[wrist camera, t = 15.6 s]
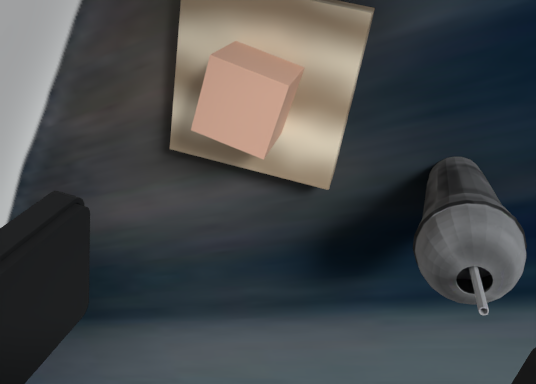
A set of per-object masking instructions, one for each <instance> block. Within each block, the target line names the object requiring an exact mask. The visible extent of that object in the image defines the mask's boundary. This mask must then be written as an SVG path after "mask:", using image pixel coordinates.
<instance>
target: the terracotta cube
mask: <svg viewBox="0 0 536 384" xmlns="http://www.w3.org/2000/svg"><path fill="white" fill-rule="evenodd" d="M304 69H305V68H304V67H302V66H299V65H297V64H294V63H292V62H289V61H286V60H284V59H281V58H279V57H276V56H274V55H271V54H268V53H266V52H263V51H261V50H258V49H256V48H253V47H251V46H248V45H245V44H243V43H240V42H238V41H234V42H233V43H231V44H229V45H227V46H225V47H223V48H222V49H220V50H218V51H216V52H214V53H212V54H211V55H210V57H209V61H208V65H207V69H206V73H205V77H204V81H203V85H202V89H201V92H200V96H199V100H198V104H197V108H196V112H195V116H194V120H193V124H192V128H191V130H192V131H194V132H197V133H199V134H202V135H204V136H207V137H209V138H212V139H214V140H216V141H219V142H221V143H224V144H226V145H229V146H231V147H234V148H236V149H239V150H241V151H244V152H246V153H248V154H251V155H253V156H256V157H258V158H261V159H263V160H264V159H265V157H266V156H267V154H268V153H269V151H270V150H271V148H272V147H273V145H274V144H275V142H276V141H277V139H278V138H279V137H280V135H281V133H282V131H283V128H284V125H285V122H286V119H287V117H288V114H289V111H290V108H291V105H292V102H293V100H294V97H295V94H296V91H297V88H298V86H299V83H300V80H301V77H302V74H303V72H304Z"/></svg>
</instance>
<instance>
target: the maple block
mask: <svg viewBox="0 0 536 384" xmlns="http://www.w3.org/2000/svg"><path fill="white" fill-rule="evenodd" d="M374 10H375V8H372V7H367V6H362V5H357V4H352V3H347V2H342V1H338V0H181V6H180V19H179V32H178V45H177V59H176V72H175V85H174V98H173V112H172V125H171V138H170V149H172V150H176V151H180V152H183V153H187V154H191V155H195V156H199V157H203V158H207V159H211V160H214V161H218V162H222V163H226V164H230V165H234V166H238V167H242V168H245V169H249V170H253V171H257V172H261V173H265V174H269V175H272V176H276V177H280V178H284V179H288V180H292V181H296V182H300V183H303V184H307V185H311V186H315V187H319V188H323V189H327V190H329V187H330V184H331V181H332V178H333V175H334V171H335V167H336V163H337V158H338V154H339V150H340V146H341V142H342V138H343V134H344V130H345V126H346V122H347V118H348V114H349V110H350V106H351V102H352V98H353V94H354V90H355V86H356V82H357V78H358V74H359V70H360V66H361V62H362V58H363V54H364V50H365V46H366V42H367V38H368V34H369V30H370V26H371V22H372V18H373V14H374ZM234 41H238V42H240V43H243V44H245V45H248V46H251V47H253V48H256V49H258V50H261V51H263V52H266V53H268V54H271V55H274V56H276V57H279V58H281V59H284V60H286V61H289V62H292V63H294V64H297V65H299V66H302V67H304V68H305V69H304V72H303V74H302V77H301V80H300V83H299V86H298V88H297V91H296V94H295V97H294V100H293V102H292V105H291V108H290V111H289V114H288V117H287V119H286V122H285V125H284V128H283V131H282V133H281V135H280V137H279V138H278V139H277V141H276V142H275V144H274V145H273V147H272V148H271V150H270V151H269V153H268V154H267V156H266V157H265V159H264V160H263V159H261V158H258V157H256V156H253V155H251V154H248V153H246V152H244V151H241V150H239V149H236V148H234V147H231V146H229V145H226V144H224V143H221V142H219V141H216V140H214V139H212V138H209V137H207V136H204V135H202V134H199V133H197V132H194V131H192V130H191V128H192V124H193V120H194V116H195V112H196V108H197V104H198V100H199V96H200V92H201V89H202V85H203V81H204V77H205V73H206V69H207V65H208V61H209V57H210V55H211V54H212V53H214V52H216V51H218V50H220V49H222V48H223V47H225V46H227V45H229V44H231V43H233V42H234Z"/></svg>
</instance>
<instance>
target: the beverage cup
mask: <svg viewBox="0 0 536 384" xmlns="http://www.w3.org/2000/svg"><path fill="white" fill-rule="evenodd" d="M526 247H527V245H526V240H525V234H524V230H523V229H522V227H521V226H520V224H519V223H518V221H517V219H516V218H515V217H514V216H512V215H511V214H510V213H509V212H508V211H507V210H506V208H504V207H503V206H502V205H501V203H500V201H499V199H498V198H497V196H496V194H495V193H494V191H493V189H492V188H491V186H490V184H489V182H488V181H487V179H486V177H485V176H484V174H483V173H482V171H481V170H480V169H479V168H478V166H477V165H476V164H475V163H474V162H472V161H471V160H469V159H466V158H464V157H450V158H445V159H444V160H442V161H440V162H438V163H437V164H436V165H435V166H434V167H433V168H432V170H431V172H430V174H429V179H428V181H427V188H426V195H425V203H424V210H423V217H422V220H421V222H420V224H419V227H418V229H417V231H416V233H415V235H414V243H413V251H414V255H415V259H416V262H417V264H418V266H419V269H420V271H421V273H422V275H423V276H424V278H425V279H426V280H427V282H428V283H429V285H430V286H431V287H432V288H433V289H435V290H436V291H437V292H439V293H440V294H441V295H443V296H444V297H446V298H448V299H451V300H453V301H456V302H458V303H465V304H477V306H478V310H479V313H480V314H481V315H487V314H488V312H489V309H488V305H487V303H488V302H491V301H493V300H496V299H498V298H501V297H502V296H503V295H505V294H506V293H507V292H509V291H510V290H511V289H512V288H513V287H514V286H515V284H516V283H517V281H518V280H519V278H520V277H521V275H522V273H523V269H524V264H525V260H526Z"/></svg>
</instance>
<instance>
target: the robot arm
mask: <svg viewBox="0 0 536 384" xmlns="http://www.w3.org/2000/svg"><path fill="white" fill-rule="evenodd" d="M89 248H90V211H89V208H87V207H85V206H84V202H83V200H82V199H81V198H79V197H75V196H72V195H69V194H66V193H62V192H59V191H54V192H52V193H50V194H48V195H47V196H46V197H44V198H43V199H41V200H40V201H39V202H37V203H36V204H34V205H33V206H31V207H30V208H29V209H27V210H26V211H24V212H23V213H21V214H20V215H19V216H17V217H16V218H14V219H13V220H12V221H10V222H9V223H7V224H6V225H4V226H3V227H2V228H0V384H25V382H26V381H27V380H28V379H29V378H30V377H31V376H32V374H33V373H34V372H35V371H36V370H37V369H38V367H39V366H40V365H41V364H42V363H43V362H44V361H45V359H46V358H47V357H48V356H49V355H50V354H51V353H52V351H53V350H54V349H55V348H56V347H57V346H58V345H59V343H60V342H61V341H62V340H63V339H64V338H65V336H66V335H67V334H68V333H69V332H70V331H71V330H72V328H73V327H74V326H75V325H76V324H77V323H78V322H79V320H80V319H81V318H82V317H83V315H84V314H85V312H86V310H87V307H88V303H89ZM512 384H536V348H534V349H533V350H532V351H531V353H530V354H529V356H528V358H527V359H526V361H525V363H524V364H523V366H522V367H521V369H520V371H519V372H518V374H517V376H516V377H515V379H514V380H513V382H512Z"/></svg>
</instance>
